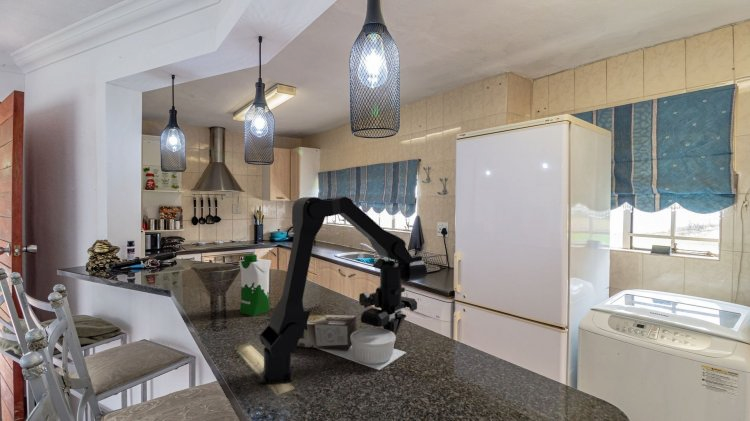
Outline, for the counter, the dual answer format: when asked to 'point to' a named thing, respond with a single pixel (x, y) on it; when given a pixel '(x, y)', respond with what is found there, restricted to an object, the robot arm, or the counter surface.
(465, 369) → the counter surface
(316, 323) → the coffee box
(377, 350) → the ramekin
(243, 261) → the milk carton
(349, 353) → the panel
